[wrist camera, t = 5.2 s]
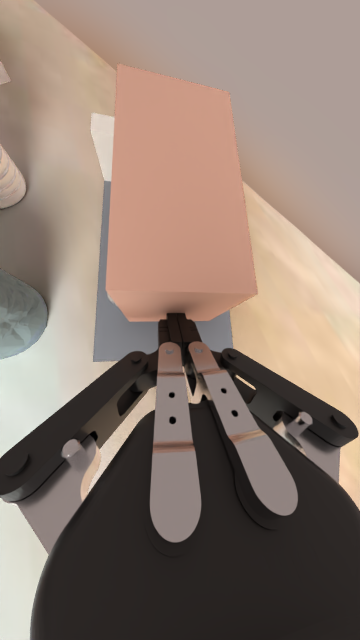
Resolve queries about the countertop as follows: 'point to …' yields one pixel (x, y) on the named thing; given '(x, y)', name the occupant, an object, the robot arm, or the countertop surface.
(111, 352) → the grey piece
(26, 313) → the grey pot
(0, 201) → the water bottle
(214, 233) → the terracotta block
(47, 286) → the countertop surface
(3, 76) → the building model
